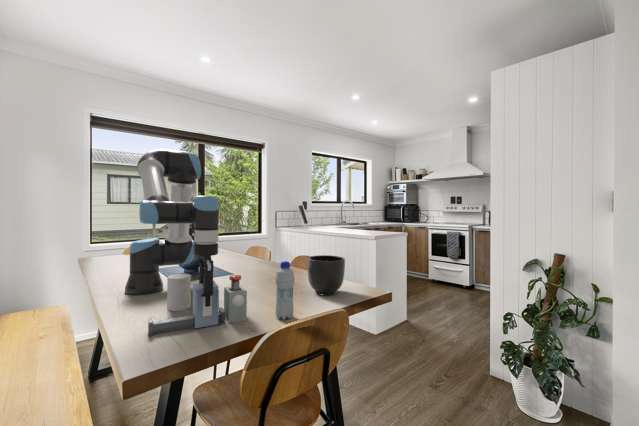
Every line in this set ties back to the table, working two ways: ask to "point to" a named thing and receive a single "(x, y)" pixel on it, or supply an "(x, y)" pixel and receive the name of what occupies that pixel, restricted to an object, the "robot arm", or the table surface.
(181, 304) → the cup
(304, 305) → the table surface
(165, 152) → the robot arm
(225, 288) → the cabinet
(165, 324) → the rail
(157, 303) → the table surface
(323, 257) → the planter
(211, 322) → the carriage
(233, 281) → the plunger
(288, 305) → the bottle
